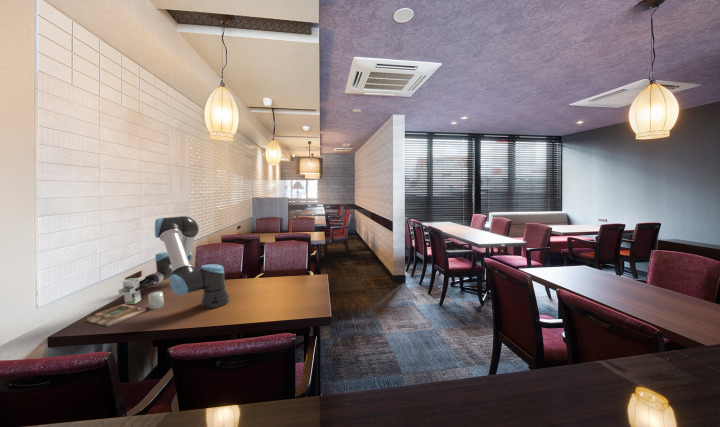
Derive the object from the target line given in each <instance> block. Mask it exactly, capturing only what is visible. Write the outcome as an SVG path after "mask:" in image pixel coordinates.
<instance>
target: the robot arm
mask: <svg viewBox="0 0 720 427" xmlns="http://www.w3.org/2000/svg"><path fill="white" fill-rule="evenodd" d="M199 230H200V229H199V224H198V223H197V221H195V219H194V218H191V217H190V216H186V215H185V216H184V215H183V216H172V217H171V216H170V217H160V218H156V219H155V221H154V236H155V238H158V239H159V240H160V241H161V242H163V243H164V246H165V249H166V251H165V252H163V251H162V252H157V253H156V254H155V267H156V272H153V273H151V274H148V275H146V276H145V277H144V278H143V279H141V280H139V285H140V287H139V286H137V287H134V288H132V289H130V290H129V292H130V294H133V293H135V292H137V291H139V290H140V291H142V290H147V289H149V288H151V287H153V286H154V285H159V283H161V282H163V281H166V280H168V283H169V285H170V288H171V291H172V292H173V294H174V295H176V296H181V295H187V294H190V293H193V292H198V291H202V292H203V293H202V296H201V297H202V298H201V301H200V307H201V308H202V309H214V308H215V309H216V308H220V307H223V306H225V305H227V304H228V303H229V302H230V296H229V294H228V292H227V289H226V280H225V269H224V266H223V265H222V264H215V263H212V264H204V265H203V264H202V265H201V267H200V268H199V269H196V268H195V266H194V265H192V264H191V263H190V262H191V261H192V260H193V253H192V251H191V250H192V248H193V245H194V241H195V238H196V237H197V235H198V233H199ZM170 266H171V267H170ZM117 291H118V295H123V294H124V288H123V287H122V288H120V289H118V290H117Z"/></svg>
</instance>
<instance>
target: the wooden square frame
mask: <svg viewBox="0 0 720 427" xmlns="http://www.w3.org/2000/svg"><path fill="white" fill-rule="evenodd" d="M146 311H147V310H146V308H142V307H138V306H135V305H131V304H125V303H122V304H119V305H116V306H113V307H110V308H107V309H105V310H103V311H100V312H97V313H95V314H94V316H91V317H89V318H88V317H87V318H86V321H87V322H89V323H93V324H97V325H101V326H102V325H103V326H106V327H110V326H113V325H114V324H117V323H119V322H122V321H124V320H127V319H129V318H132V317H134V316H137V315H139V314H143V313H144V312H146Z"/></svg>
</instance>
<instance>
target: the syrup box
mask: <svg viewBox="0 0 720 427" xmlns="http://www.w3.org/2000/svg"><path fill="white" fill-rule="evenodd" d="M139 281H140V278H139V277H137V278H127V279H124V280H123V281H122V288H124V293H123V295H124V304H125V305H135V304H137V303H139V302H141V300H142V296H141V290H139V291H137V292H135V293H133V294H130V292H129V290H130V289H132V288H134V287H137V286H139V287H140V285H139Z"/></svg>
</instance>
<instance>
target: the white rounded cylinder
mask: <svg viewBox="0 0 720 427" xmlns="http://www.w3.org/2000/svg"><path fill="white" fill-rule="evenodd" d="M147 296H148V298H147V299H148V307H149V310H157V309H161V308H163V307H164V306H165V299H164V291H161V290H160V291H158V290H157V291H153V292H150V293H148V295H147Z"/></svg>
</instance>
